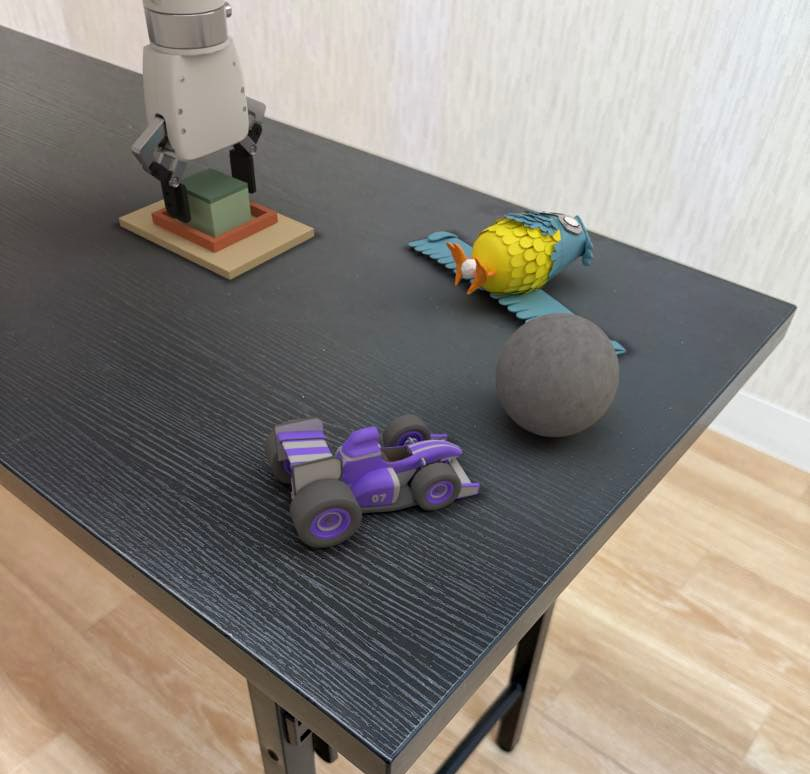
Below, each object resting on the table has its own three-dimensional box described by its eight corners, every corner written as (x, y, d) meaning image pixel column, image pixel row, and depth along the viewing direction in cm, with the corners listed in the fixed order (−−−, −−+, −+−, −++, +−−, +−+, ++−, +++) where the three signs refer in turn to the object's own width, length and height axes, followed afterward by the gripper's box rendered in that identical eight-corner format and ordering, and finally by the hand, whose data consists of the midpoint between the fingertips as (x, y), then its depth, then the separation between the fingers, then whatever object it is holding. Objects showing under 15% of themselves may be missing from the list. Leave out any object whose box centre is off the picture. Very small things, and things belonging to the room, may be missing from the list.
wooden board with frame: (120, 226, 92) (115, 207, 90) (206, 189, 99) (203, 171, 97) (229, 280, 84) (227, 260, 83) (314, 236, 91) (313, 217, 90)
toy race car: (486, 507, 63) (496, 443, 58) (300, 556, 58) (294, 491, 54) (438, 432, 68) (443, 368, 64) (266, 472, 64) (258, 407, 60)
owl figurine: (382, 175, 82) (495, 148, 89) (379, 255, 89) (485, 225, 95) (570, 297, 67) (690, 254, 74) (551, 384, 74) (663, 337, 80)
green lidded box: (178, 223, 91) (171, 183, 87) (215, 206, 94) (209, 167, 90) (215, 240, 88) (209, 199, 85) (252, 223, 91) (247, 183, 88)
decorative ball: (466, 412, 70) (477, 311, 63) (550, 376, 75) (570, 277, 67) (542, 477, 65) (564, 375, 58) (628, 434, 69) (659, 334, 62)
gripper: (227, 0, 83) (246, 170, 95) (86, 37, 73) (128, 220, 86) (280, 16, 80) (292, 188, 92) (140, 56, 70) (175, 242, 83)
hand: (213, 203), depth 89 cm, fingers open, 9 cm apart
